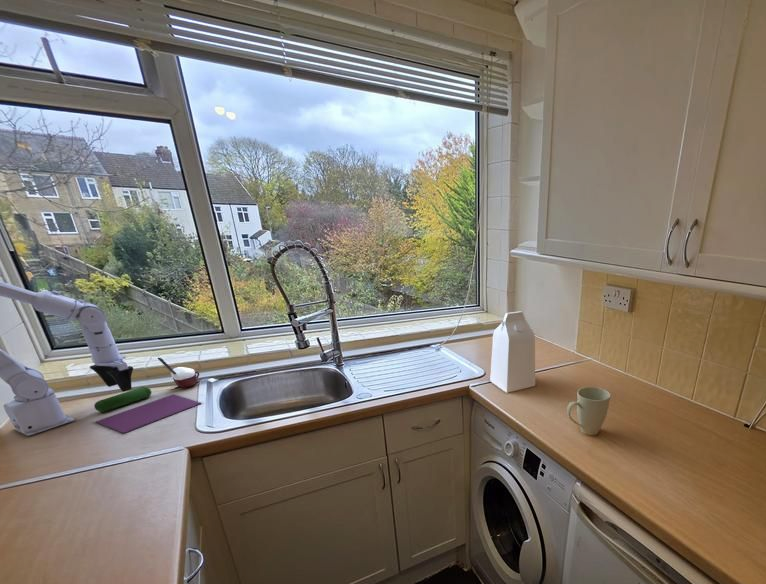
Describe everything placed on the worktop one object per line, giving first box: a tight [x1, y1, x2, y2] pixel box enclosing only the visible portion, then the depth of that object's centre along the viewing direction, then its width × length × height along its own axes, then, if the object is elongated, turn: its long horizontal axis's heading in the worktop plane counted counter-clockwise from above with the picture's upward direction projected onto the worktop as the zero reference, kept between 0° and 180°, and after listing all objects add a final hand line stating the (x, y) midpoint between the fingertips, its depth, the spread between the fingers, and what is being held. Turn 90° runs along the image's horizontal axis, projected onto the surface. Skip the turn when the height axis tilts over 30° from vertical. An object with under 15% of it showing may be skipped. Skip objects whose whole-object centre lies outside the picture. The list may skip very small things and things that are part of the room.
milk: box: [489, 310, 536, 394], centre depth 141 cm, size 12×12×26 cm
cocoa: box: [157, 357, 200, 389], centre depth 136 cm, size 10×6×12 cm, turn 136°
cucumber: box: [94, 386, 152, 413], centre depth 125 cm, size 14×4×4 cm, turn 156°
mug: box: [566, 386, 611, 436], centre depth 113 cm, size 11×10×12 cm
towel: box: [95, 394, 202, 434], centre depth 121 cm, size 20×14×1 cm
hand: (119, 387), depth 123 cm, fingers open, 7 cm apart
